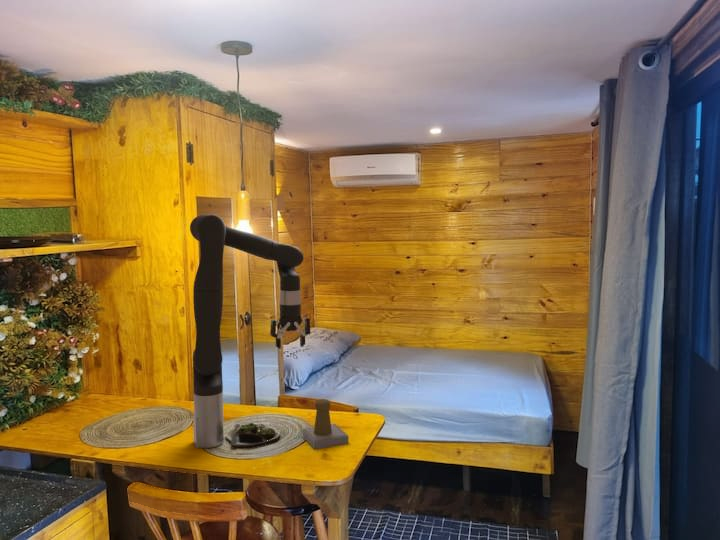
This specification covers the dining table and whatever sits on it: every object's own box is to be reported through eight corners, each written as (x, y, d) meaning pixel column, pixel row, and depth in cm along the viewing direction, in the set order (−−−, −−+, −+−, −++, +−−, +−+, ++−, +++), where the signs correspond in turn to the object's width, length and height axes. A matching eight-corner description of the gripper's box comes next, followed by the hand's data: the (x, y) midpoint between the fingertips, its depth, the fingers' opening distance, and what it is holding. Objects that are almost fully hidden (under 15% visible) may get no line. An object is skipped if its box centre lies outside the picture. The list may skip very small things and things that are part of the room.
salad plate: (214, 434, 189) (213, 421, 188) (261, 423, 199) (261, 411, 198) (235, 453, 173) (235, 439, 172) (286, 441, 183) (286, 427, 183)
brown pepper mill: (320, 437, 179) (320, 404, 178) (310, 431, 183) (310, 399, 182) (335, 432, 182) (335, 400, 182) (324, 427, 187) (324, 396, 186)
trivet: (314, 449, 175) (314, 441, 175) (302, 436, 186) (302, 428, 186) (348, 443, 180) (348, 435, 180) (335, 430, 191) (335, 423, 191)
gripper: (273, 305, 188) (274, 351, 189) (312, 302, 194) (312, 347, 195) (268, 302, 195) (268, 346, 196) (305, 300, 201) (306, 343, 202)
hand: (290, 347), depth 196 cm, fingers open, 8 cm apart
